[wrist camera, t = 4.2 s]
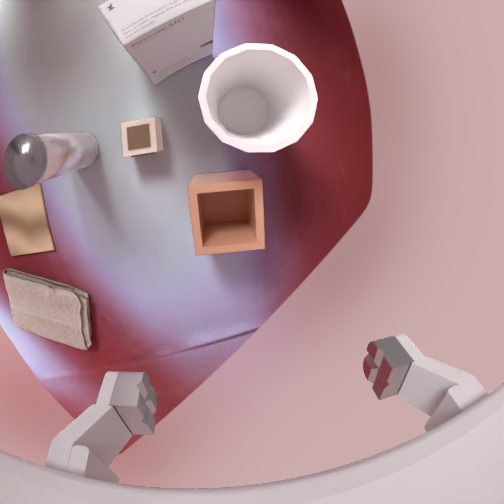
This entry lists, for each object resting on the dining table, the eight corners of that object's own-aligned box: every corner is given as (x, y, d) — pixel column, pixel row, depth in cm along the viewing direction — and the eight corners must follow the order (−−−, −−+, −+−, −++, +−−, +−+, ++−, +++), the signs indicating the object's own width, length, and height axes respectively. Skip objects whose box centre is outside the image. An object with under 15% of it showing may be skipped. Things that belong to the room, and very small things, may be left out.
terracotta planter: (193, 174, 33) (187, 186, 25) (250, 169, 34) (262, 179, 26) (199, 228, 36) (195, 255, 28) (252, 222, 37) (264, 248, 29)
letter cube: (129, 124, 30) (119, 123, 26) (161, 119, 30) (154, 116, 26) (132, 156, 31) (122, 158, 28) (163, 151, 32) (157, 152, 28)
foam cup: (295, 118, 32) (338, 110, 20) (238, 163, 34) (252, 176, 22) (247, 62, 29) (266, 24, 17) (188, 107, 30) (173, 89, 18)
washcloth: (96, 344, 42) (91, 355, 39) (18, 320, 38) (11, 330, 35) (91, 286, 38) (84, 296, 35) (7, 265, 34) (-2, 273, 31)
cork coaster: (-2, 196, 29) (-4, 197, 29) (40, 183, 30) (39, 183, 30) (12, 255, 33) (11, 256, 33) (54, 249, 34) (53, 250, 34)
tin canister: (66, 136, 29) (1, 142, 16) (97, 127, 29) (39, 127, 16) (70, 171, 31) (7, 194, 18) (101, 164, 31) (45, 183, 18)
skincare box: (155, 86, 28) (119, 53, 15) (134, 52, 26) (91, 8, 12) (215, 52, 28) (219, -1, 14) (193, 19, 25) (185, -42, 12)
